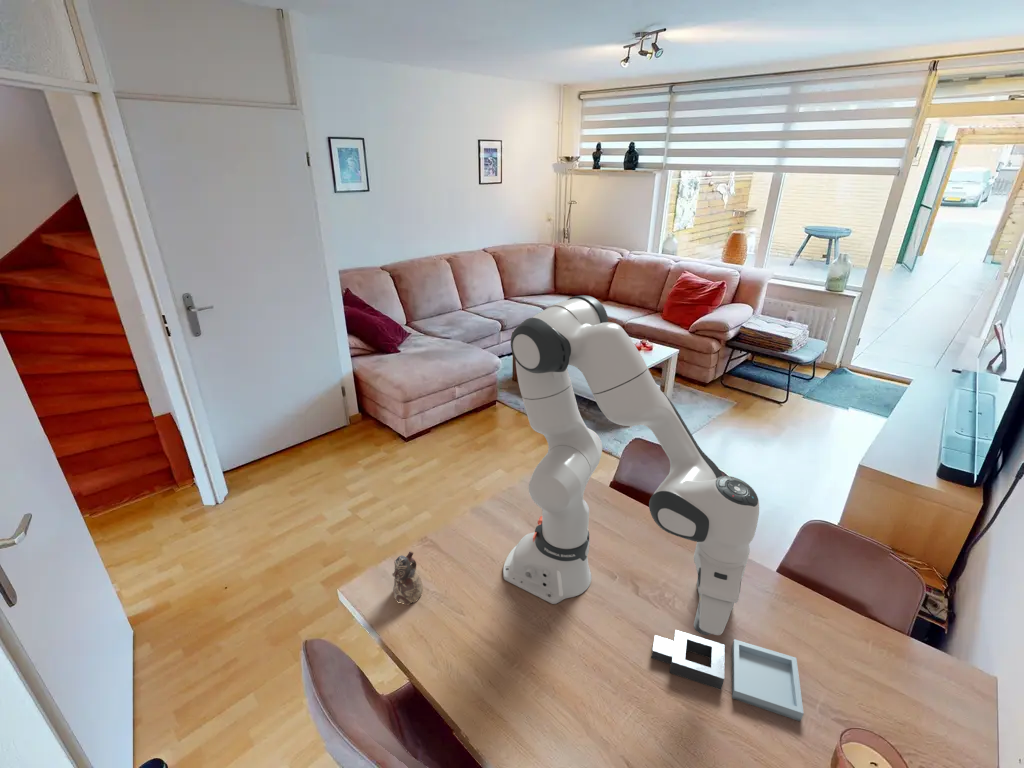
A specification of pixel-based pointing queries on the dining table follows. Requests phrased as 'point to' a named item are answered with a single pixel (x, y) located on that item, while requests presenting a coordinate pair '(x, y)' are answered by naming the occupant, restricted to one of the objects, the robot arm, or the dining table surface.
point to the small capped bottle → (697, 619)
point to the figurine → (406, 580)
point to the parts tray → (766, 679)
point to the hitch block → (675, 656)
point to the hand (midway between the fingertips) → (707, 609)
